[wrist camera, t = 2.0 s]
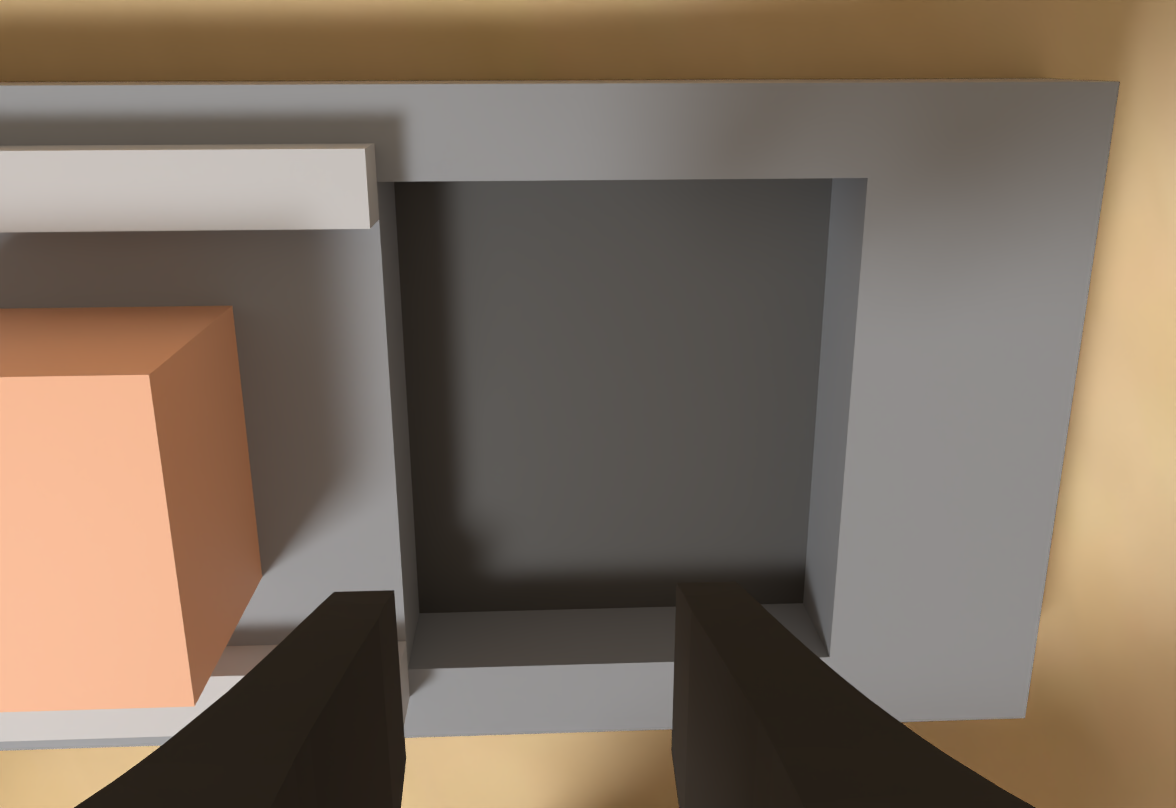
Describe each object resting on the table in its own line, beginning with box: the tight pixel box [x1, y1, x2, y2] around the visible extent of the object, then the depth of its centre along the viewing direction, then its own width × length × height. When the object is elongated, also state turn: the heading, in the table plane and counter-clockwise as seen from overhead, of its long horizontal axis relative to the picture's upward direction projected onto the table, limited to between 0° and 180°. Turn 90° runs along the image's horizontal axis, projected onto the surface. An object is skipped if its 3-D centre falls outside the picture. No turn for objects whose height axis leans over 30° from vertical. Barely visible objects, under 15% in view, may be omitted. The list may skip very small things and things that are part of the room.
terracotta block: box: [0, 306, 262, 712], centre depth 16 cm, size 5×5×4 cm
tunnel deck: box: [0, 79, 1120, 751], centre depth 19 cm, size 12×30×4 cm, turn 90°
